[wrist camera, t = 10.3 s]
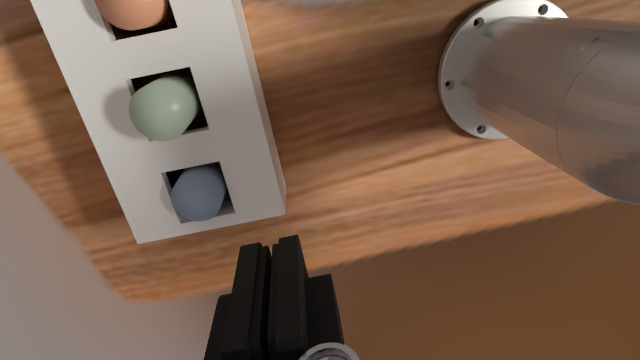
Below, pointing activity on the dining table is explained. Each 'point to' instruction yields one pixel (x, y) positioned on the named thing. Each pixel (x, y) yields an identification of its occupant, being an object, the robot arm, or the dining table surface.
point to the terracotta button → (135, 13)
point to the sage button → (165, 107)
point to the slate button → (199, 192)
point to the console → (191, 146)
